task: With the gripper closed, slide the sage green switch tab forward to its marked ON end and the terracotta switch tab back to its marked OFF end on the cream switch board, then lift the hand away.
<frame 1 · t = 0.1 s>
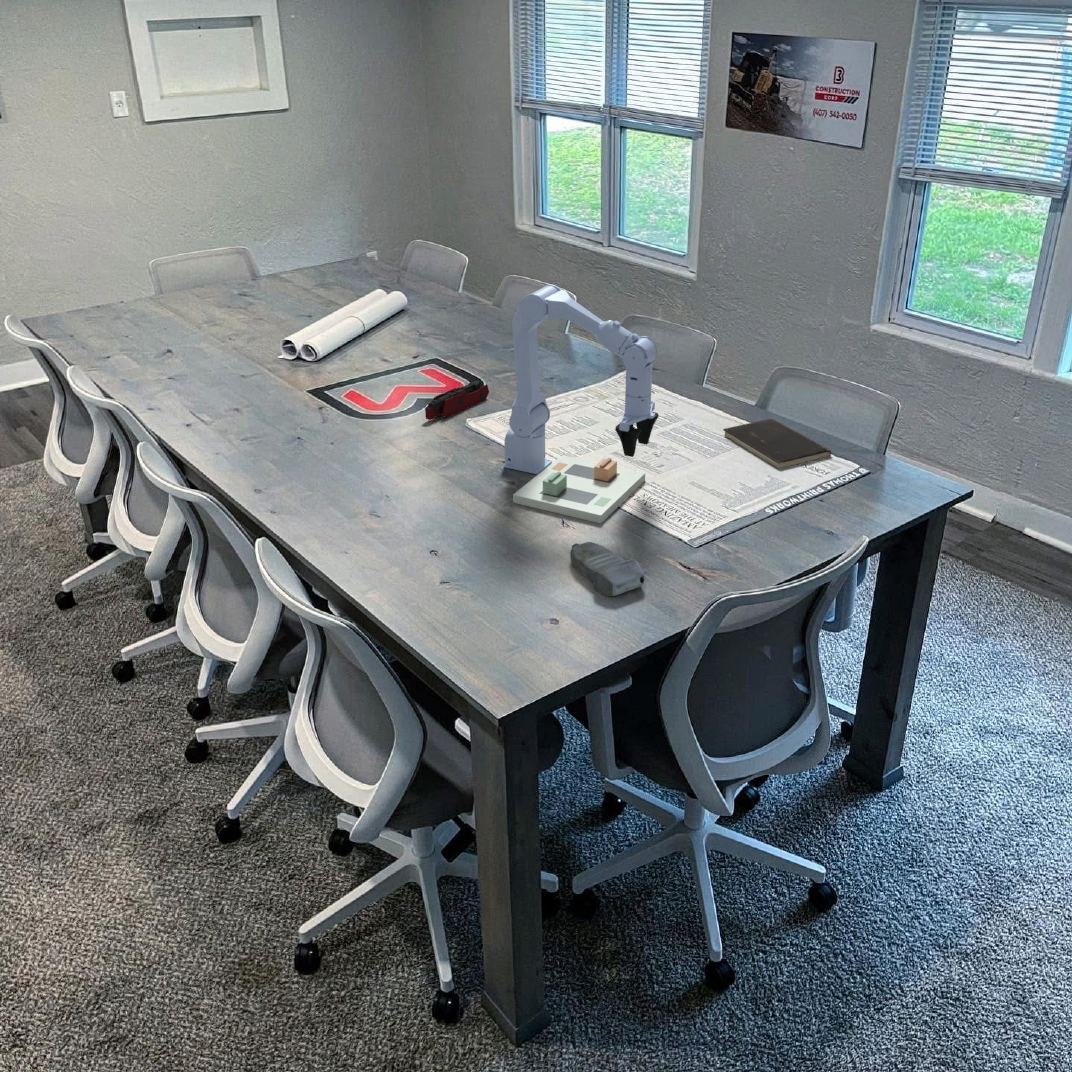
hand: (636, 449, 239), 10 cm above the table, tool pointing down, fingers open, 7 cm apart
switch board: (580, 491, 244), on the table
mechanical component: (456, 410, 289), on the table
hardcover book: (775, 448, 265), on the table
tab green: (554, 482, 238), point 4 cm above the table, slide at 0.0 cm
tab terracotta: (605, 468, 245), point 4 cm above the table, slide at 7.0 cm
handheld device: (600, 575, 212), on the table
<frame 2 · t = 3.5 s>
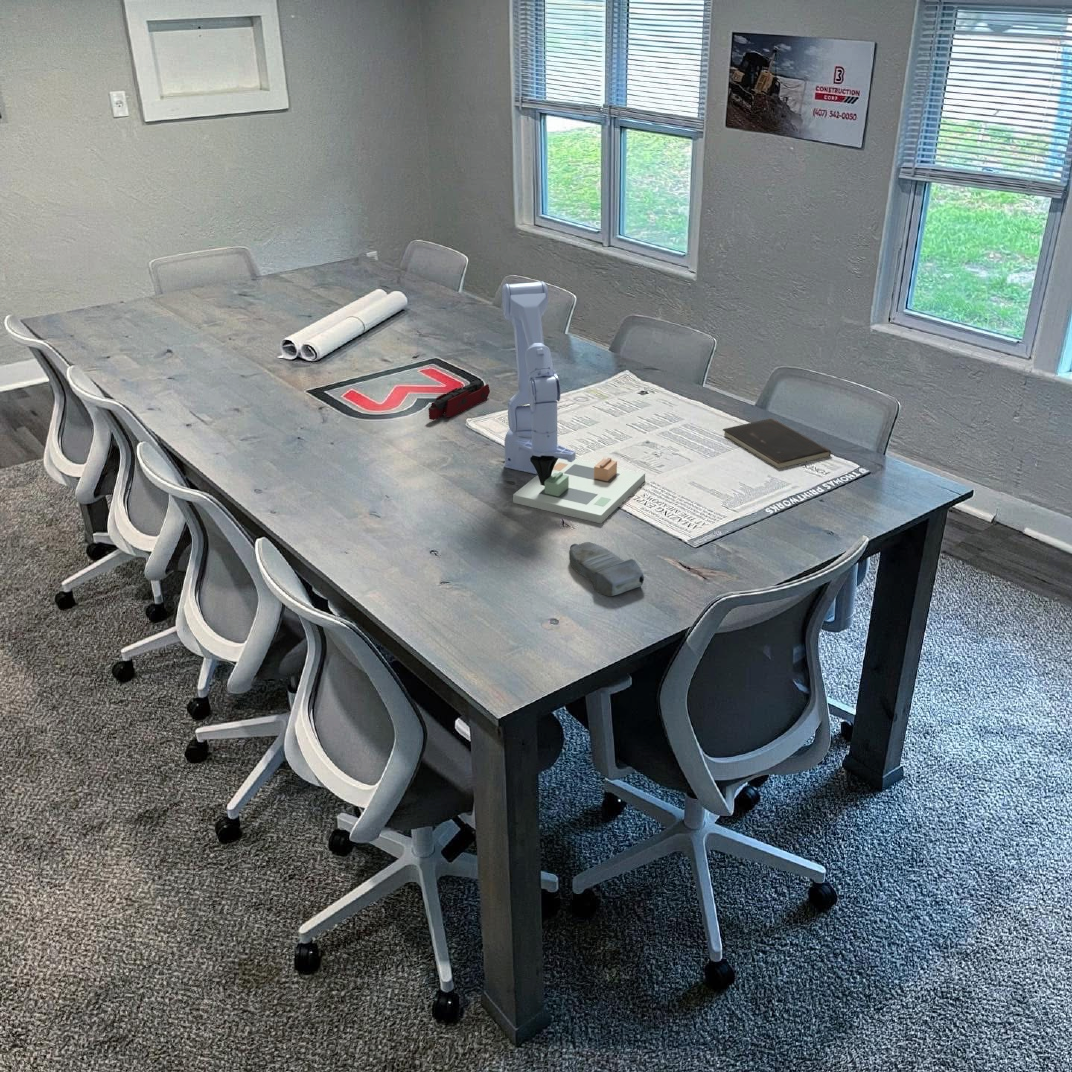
hand: (545, 483, 240), 3 cm above the table, tool pointing down, fingers closed
tab green: (556, 483, 238), point 4 cm above the table, slide at 0.5 cm, touching gripper
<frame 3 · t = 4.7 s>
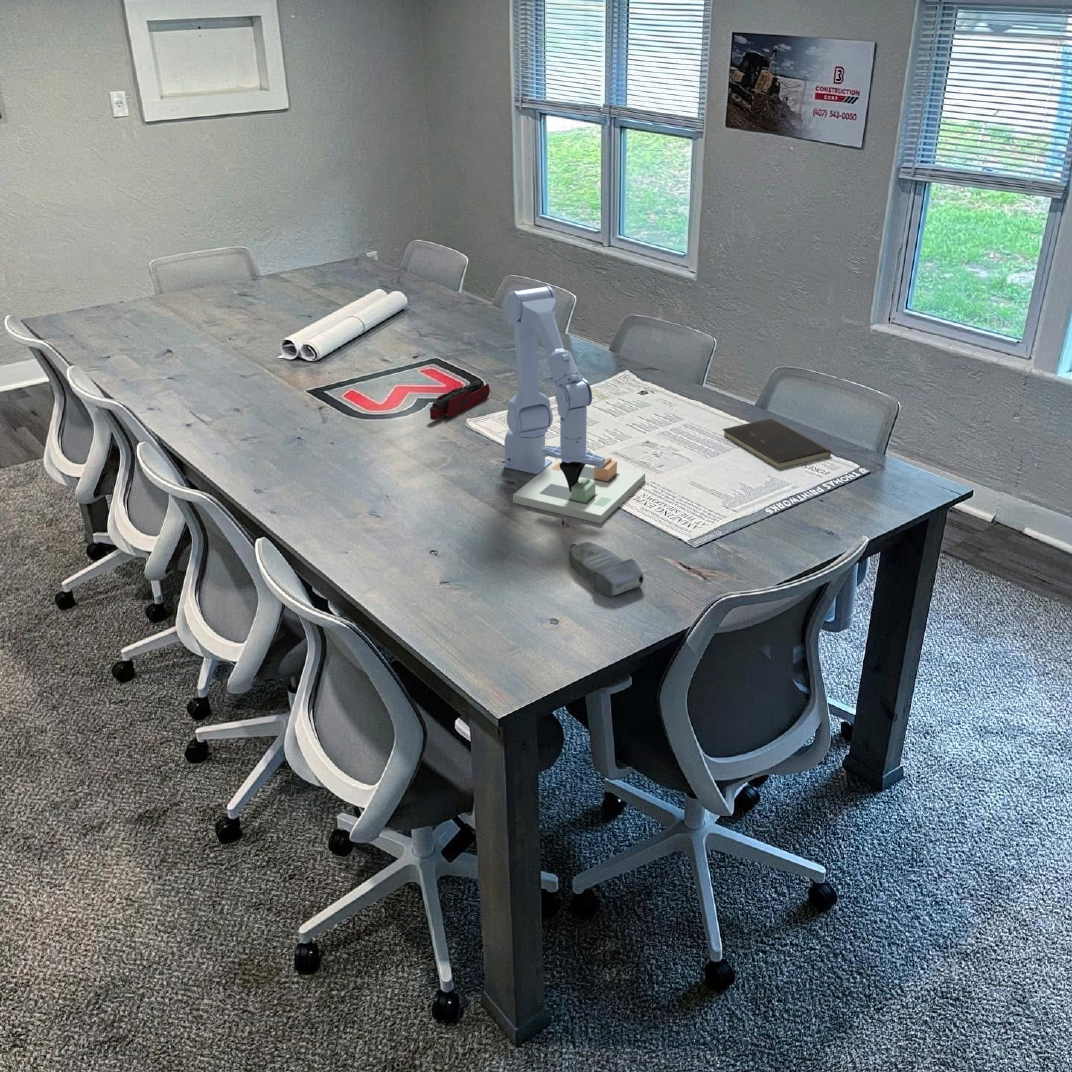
hand: (573, 490, 237), 3 cm above the table, tool pointing down, fingers closed
tab green: (583, 489, 235), point 4 cm above the table, slide at 7.3 cm, touching gripper
everything else where it was.
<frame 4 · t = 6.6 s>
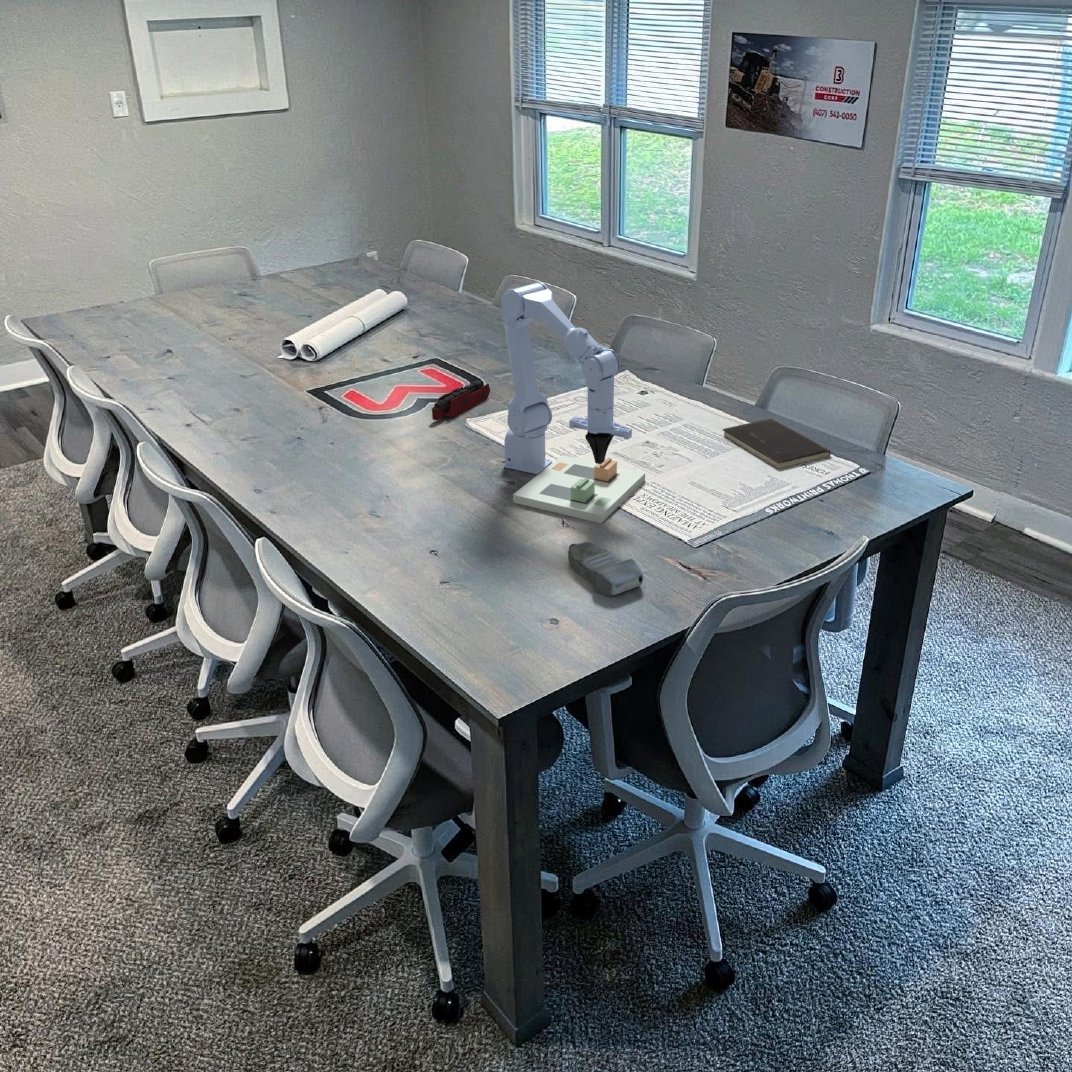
hand: (599, 462, 237), 8 cm above the table, tool pointing down, fingers closed
tab green: (582, 489, 235), point 4 cm above the table, slide at 7.1 cm
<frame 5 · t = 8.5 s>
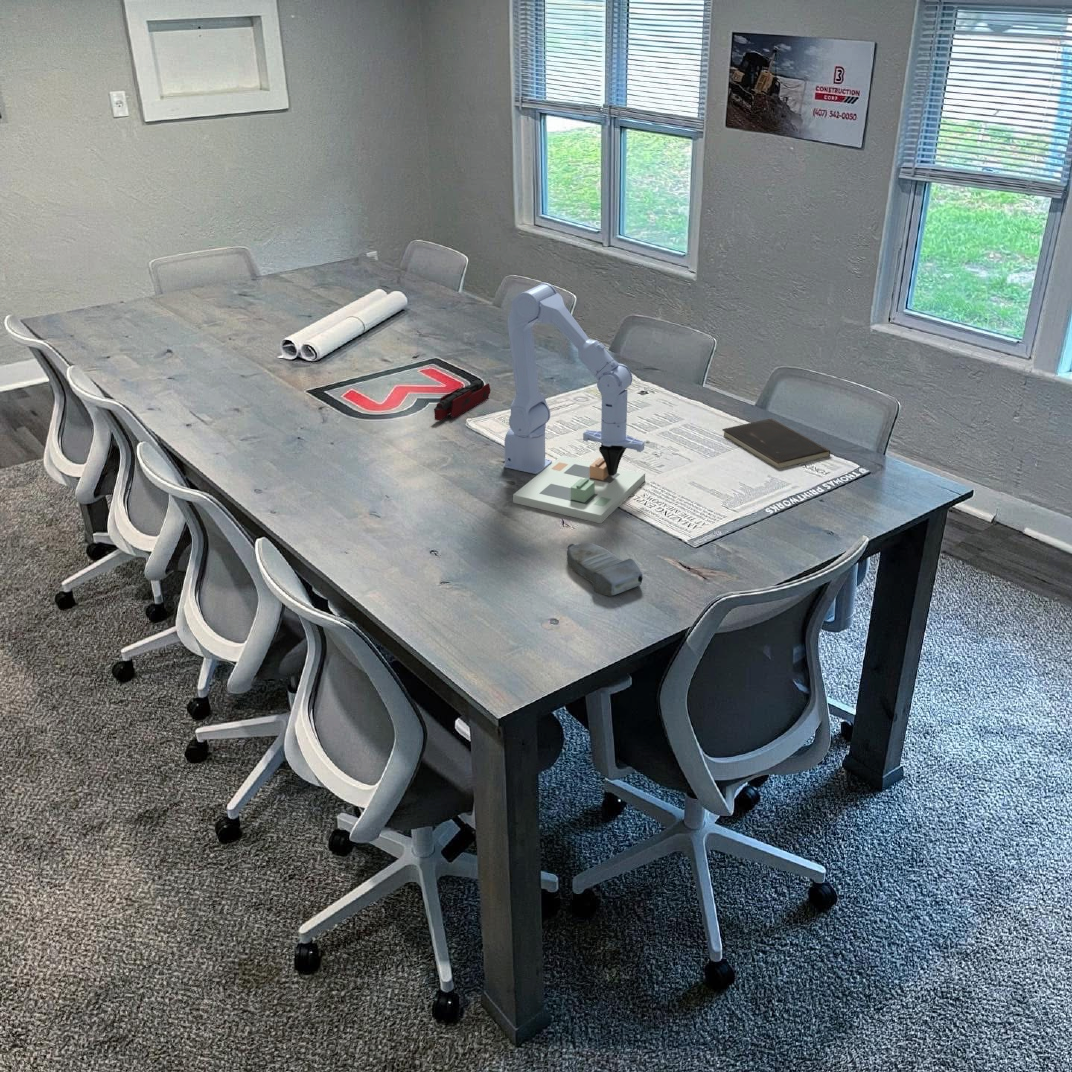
hand: (612, 473, 244), 3 cm above the table, tool pointing down, fingers closed
tab terracotta: (601, 467, 245), point 4 cm above the table, slide at 5.9 cm, touching gripper
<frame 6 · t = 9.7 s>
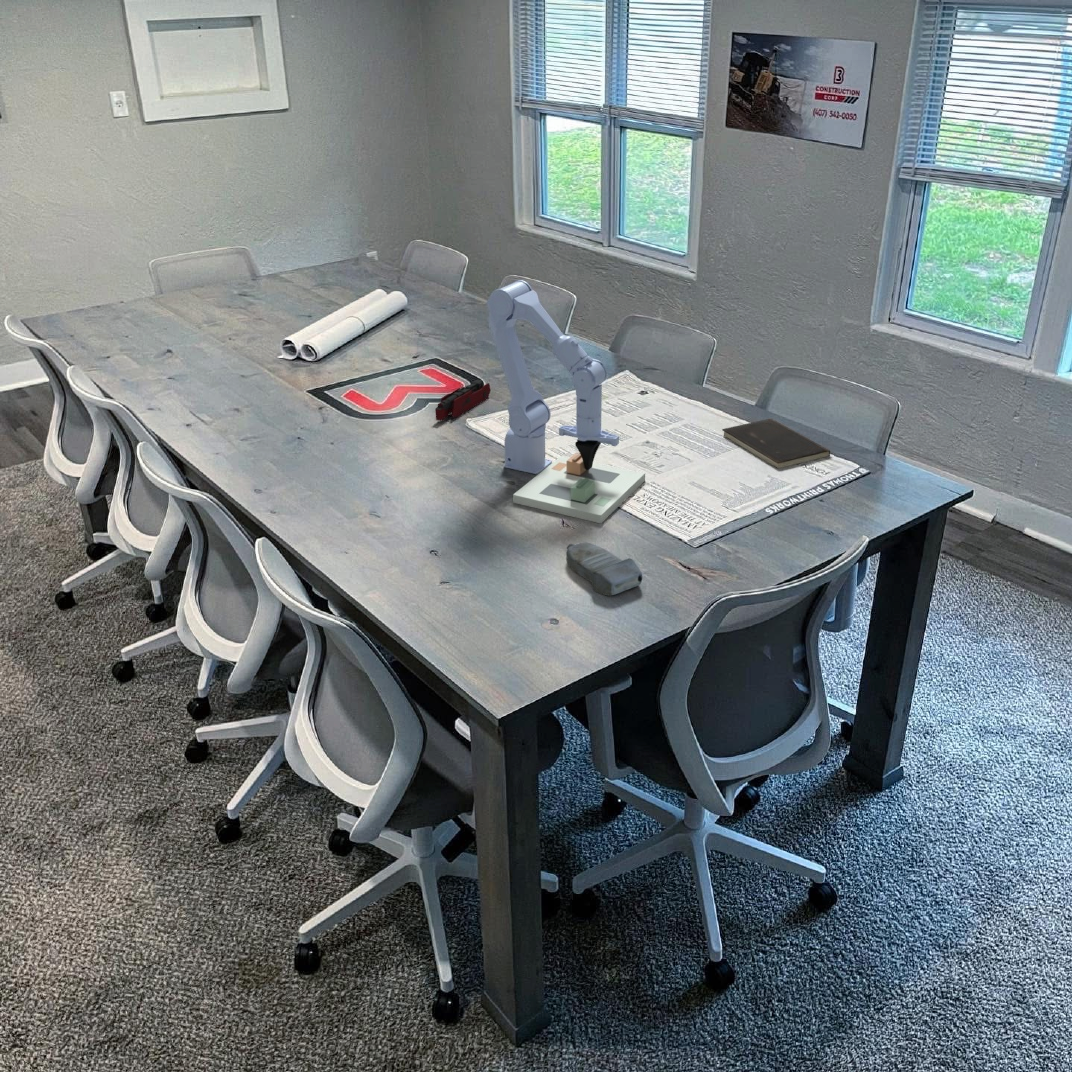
hand: (588, 468, 247), 3 cm above the table, tool pointing down, fingers closed
tab terracotta: (578, 462, 248), point 4 cm above the table, slide at -0.1 cm, touching gripper
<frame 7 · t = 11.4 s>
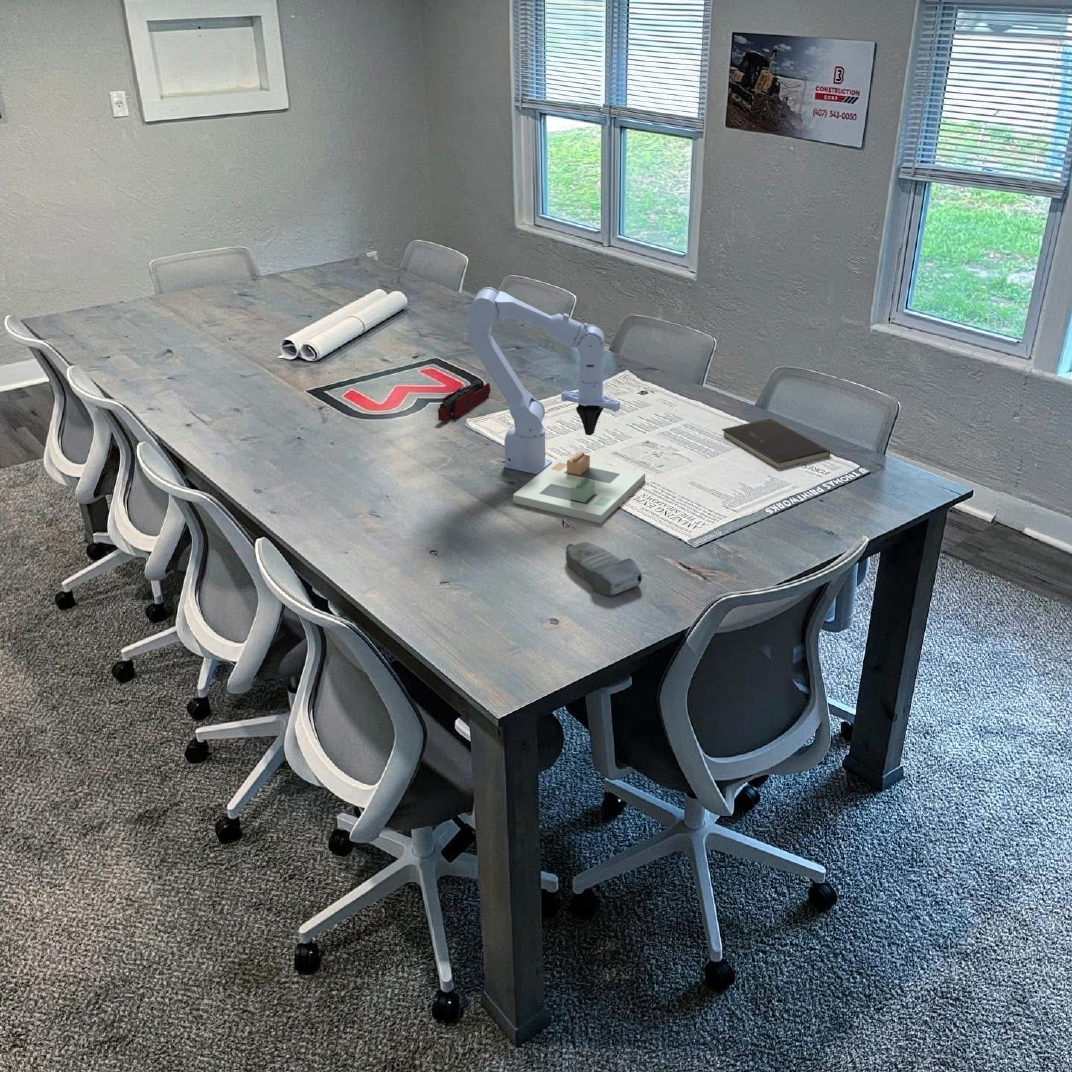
hand: (589, 433, 250), 9 cm above the table, tool pointing down, fingers closed
tab terracotta: (578, 462, 248), point 4 cm above the table, slide at -0.1 cm
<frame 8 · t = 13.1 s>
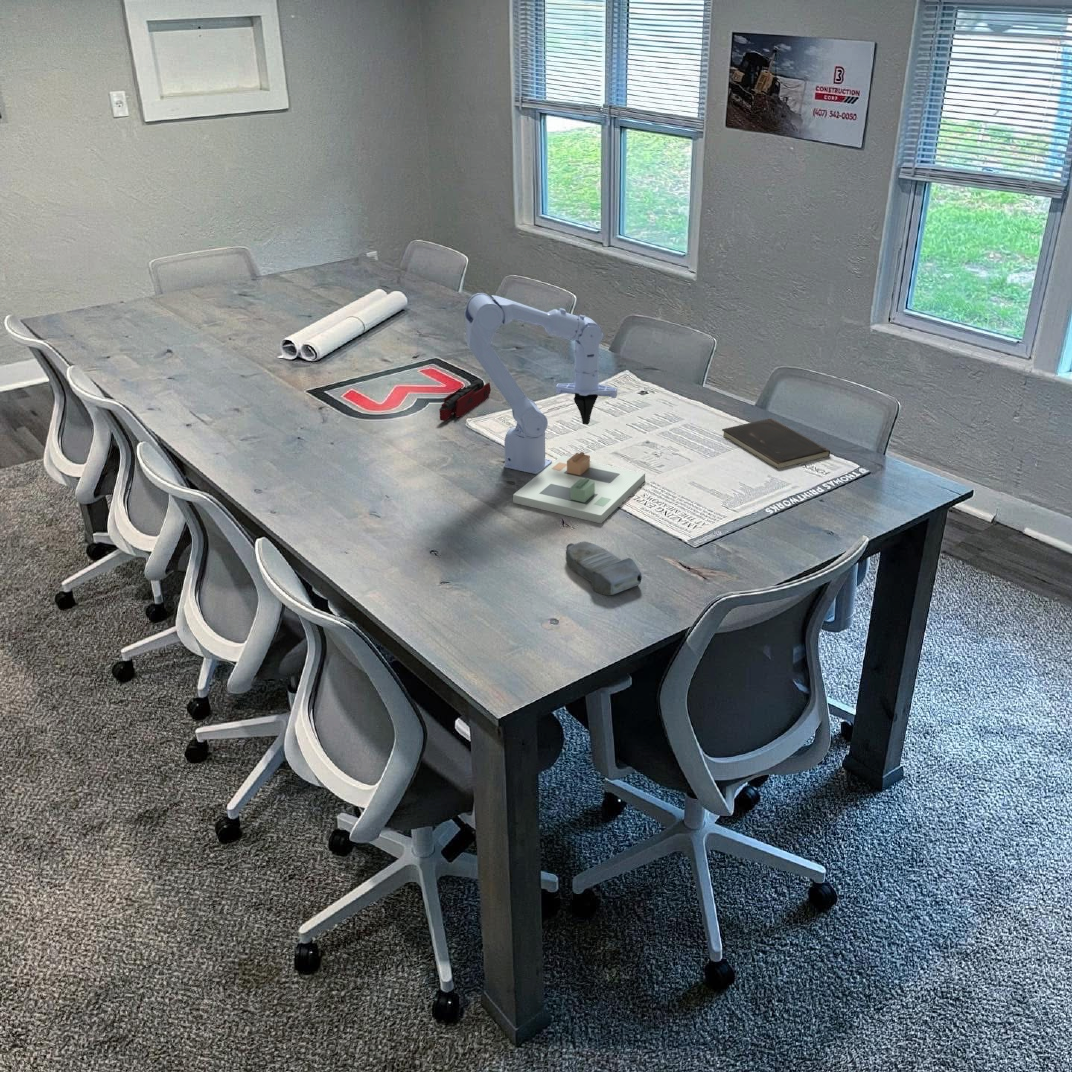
hand: (586, 422, 255), 9 cm above the table, tool pointing down, fingers closed
at the end: tab green slide at 7.1 cm; tab terracotta slide at -0.1 cm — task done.
